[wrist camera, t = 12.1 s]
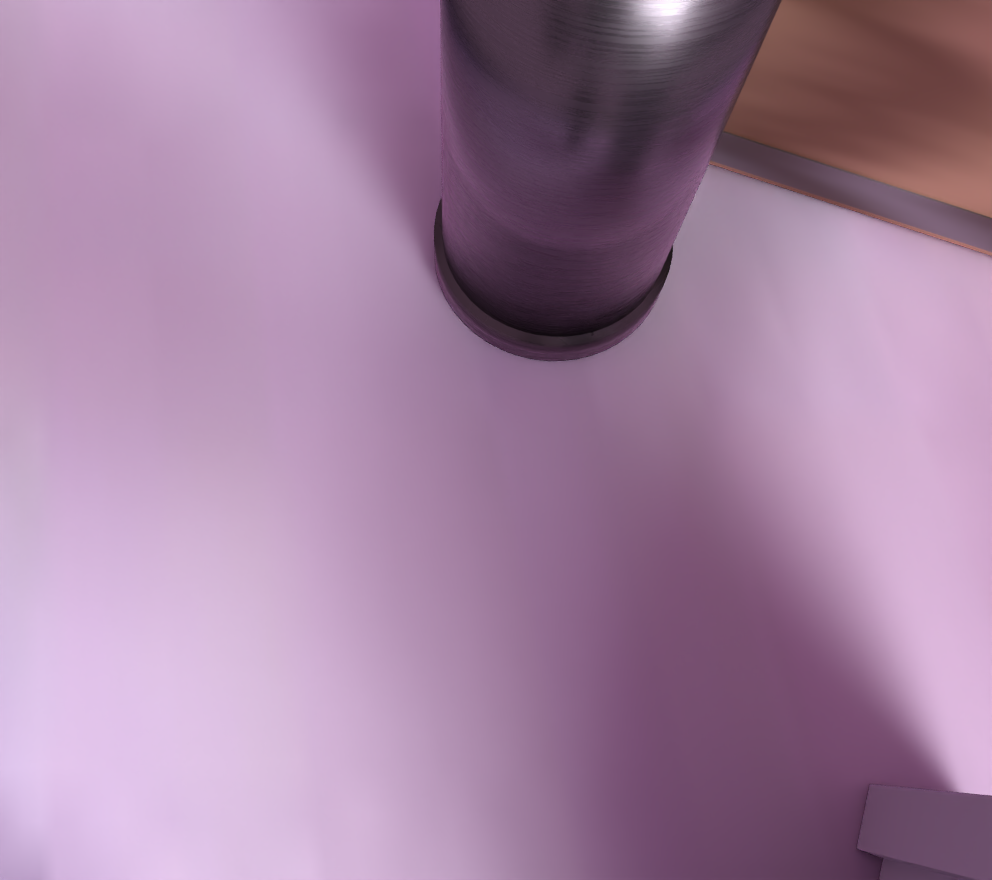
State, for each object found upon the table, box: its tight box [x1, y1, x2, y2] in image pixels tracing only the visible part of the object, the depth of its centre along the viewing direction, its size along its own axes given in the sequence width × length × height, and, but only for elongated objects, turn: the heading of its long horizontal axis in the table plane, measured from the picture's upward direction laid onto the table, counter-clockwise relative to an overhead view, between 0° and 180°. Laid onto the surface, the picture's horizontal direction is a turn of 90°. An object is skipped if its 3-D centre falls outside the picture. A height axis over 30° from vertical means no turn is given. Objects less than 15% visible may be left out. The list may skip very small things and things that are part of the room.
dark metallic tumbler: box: [434, 0, 782, 361], centre depth 18 cm, size 6×6×13 cm
